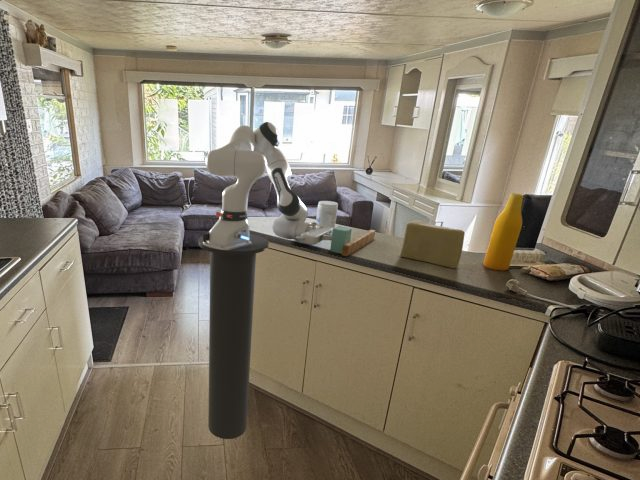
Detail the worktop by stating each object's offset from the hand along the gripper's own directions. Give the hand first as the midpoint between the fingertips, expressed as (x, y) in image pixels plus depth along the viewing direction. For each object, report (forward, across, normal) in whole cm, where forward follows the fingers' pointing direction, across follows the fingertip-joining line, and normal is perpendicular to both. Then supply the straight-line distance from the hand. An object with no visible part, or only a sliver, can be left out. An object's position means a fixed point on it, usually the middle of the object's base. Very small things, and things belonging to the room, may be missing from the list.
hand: (334, 238), depth 185 cm
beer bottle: (+61, +22, +6) cm, 65 cm away
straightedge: (+7, +12, +5) cm, 15 cm away
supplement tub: (-15, +25, +5) cm, 30 cm away
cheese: (+38, +12, +6) cm, 40 cm away
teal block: (+3, 0, +5) cm, 6 cm away
